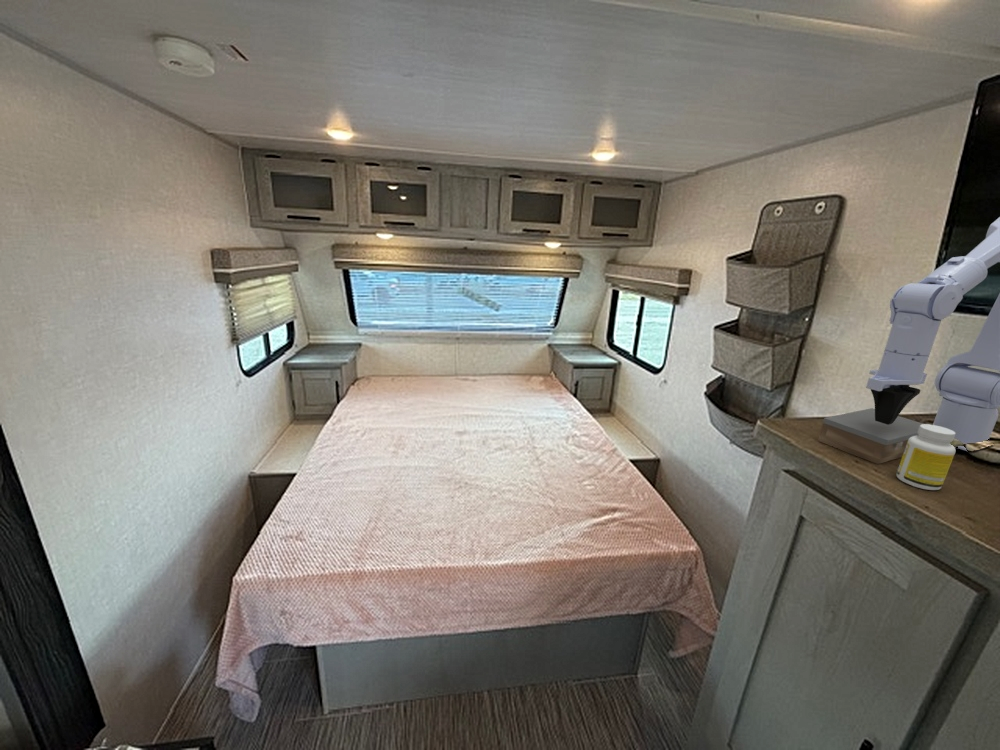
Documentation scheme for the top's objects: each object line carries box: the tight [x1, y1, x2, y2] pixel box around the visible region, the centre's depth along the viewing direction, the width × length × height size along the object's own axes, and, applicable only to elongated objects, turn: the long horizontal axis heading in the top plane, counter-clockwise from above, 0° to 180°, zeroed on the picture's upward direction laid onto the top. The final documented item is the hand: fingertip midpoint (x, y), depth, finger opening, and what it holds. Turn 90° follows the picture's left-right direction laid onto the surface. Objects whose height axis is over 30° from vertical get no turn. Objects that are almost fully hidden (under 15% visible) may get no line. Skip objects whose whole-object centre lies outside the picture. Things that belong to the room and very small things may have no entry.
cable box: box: [817, 422, 908, 465], centre depth 79 cm, size 16×10×4 cm, turn 112°
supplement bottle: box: [895, 423, 956, 491], centre depth 65 cm, size 5×5×10 cm
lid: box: [822, 408, 924, 445], centre depth 78 cm, size 16×10×1 cm, turn 112°
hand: (883, 422), depth 75 cm, fingers closed
